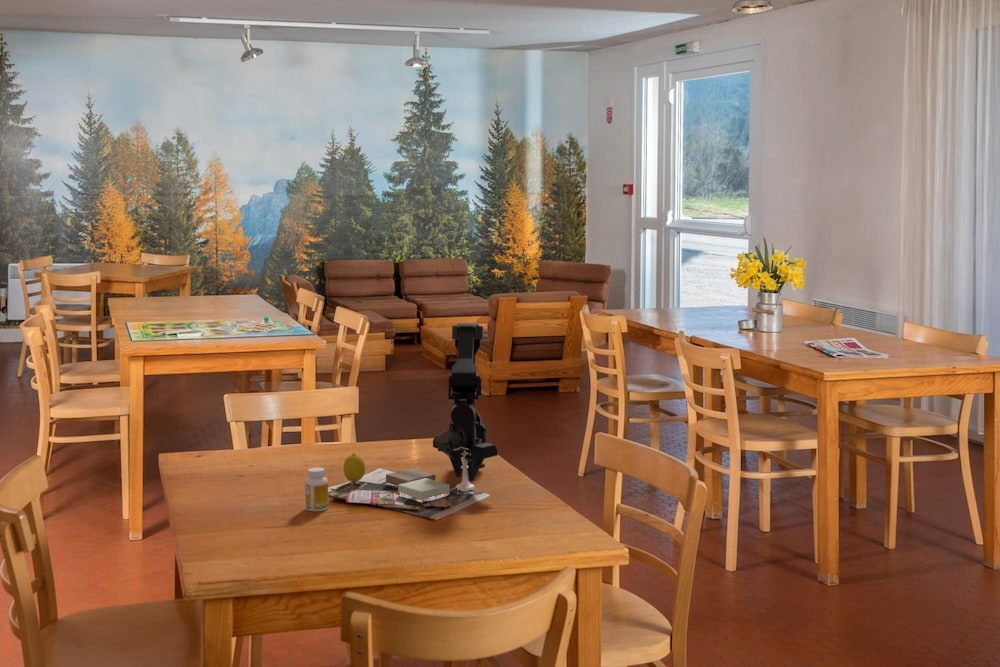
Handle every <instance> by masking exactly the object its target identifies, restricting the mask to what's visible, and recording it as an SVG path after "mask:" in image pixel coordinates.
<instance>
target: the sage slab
mask: <svg viewBox="0 0 1000 667" xmlns="http://www.w3.org/2000/svg"><path fill="white" fill-rule="evenodd" d="M450 488H451V487H450V484H448V483H444V482H441V481H438V480H436V479H435V480H431V479H428V478H424V479H420V480H416V481H412V482H407V483H403V484H399V485H398V489H397V490H398V492H401V493H404V494H407V495H409V496H412V497H415V498H417V499H420V500H423V499H427V498H429V497H432V496H438V495H441V494H445V493H447V494H450ZM450 495H451V494H450Z"/></svg>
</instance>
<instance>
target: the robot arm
mask: <svg viewBox="0 0 1000 667" xmlns="http://www.w3.org/2000/svg"><path fill="white" fill-rule="evenodd" d="M451 340H453V341H454V346H455V348H456V350H457V358H456V362H455V363H454V364H453V365H452V366H451V374H448V392H447V393H448V394H447V395H448V396H447V399H448V400H450V401H451V400H452V403H453V404H452V410H451V413H450V419H451V422H449V425H448V430H447V431H444V432H442V433H441V434H439V435H435V436H434V438H433V439H432V448H435V449H437V451H438V452H441V453H443V454H445V455H446V456H448V458H449V461H450V462H451V465H452V468H453V471H454V474H455V476H456V478H462V477H461V476H462V474H463V469H462V468H461V466H463V464H462V461H461V458H462V457H464V458H465V459H466V460H467V461H468V463H467V466H468V469H467V471H468V481H469V482H473V481H474V480H475V478H476V476H477V474H478V471H479V469H480V468H481V467H485V466H486V463H483V462H484V460H485V459H490V458H494V457H497V456H499V455H498V447H497V445H496V444H493V443H491V442H489V443H488V442H487V428H486V427H485V425H484V423H482V416H481V415H480V413H479V412H478V410H477V408H476V407H477V406H476V404H477V401H478V400H479V399H480V396H482V385H483V384H482V382H483V380H482V379H483V378H482V377H481V375H480V374H478V373H477V365H476V355H477V353H478V352H479V349H480V347H481V346H482V341H483V340H484V326H482V325H480V323H479V322H457V323H456V325H452V326H451ZM476 400H477V401H476ZM464 450H466V453H468V455H466V456H464V455H461V453H464Z"/></svg>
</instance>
